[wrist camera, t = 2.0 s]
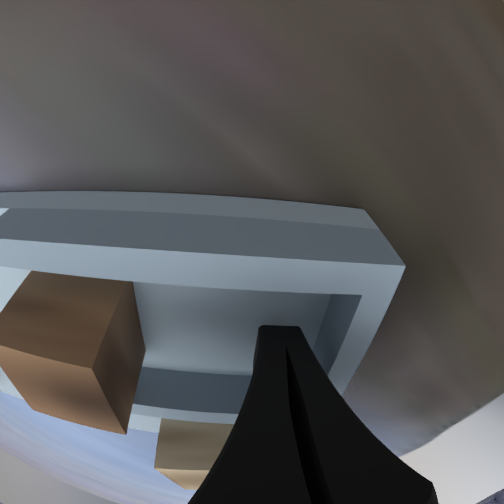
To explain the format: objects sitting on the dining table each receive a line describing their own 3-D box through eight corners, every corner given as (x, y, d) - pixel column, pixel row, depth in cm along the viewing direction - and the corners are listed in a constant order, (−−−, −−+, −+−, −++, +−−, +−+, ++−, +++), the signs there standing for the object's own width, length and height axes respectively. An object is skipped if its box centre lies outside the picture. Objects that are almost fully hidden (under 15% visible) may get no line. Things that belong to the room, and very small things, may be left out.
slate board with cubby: (289, 419, 18) (294, 465, 15) (-12, 369, 17) (-27, 401, 14) (363, 209, 10) (405, 266, 7) (-90, 199, 9) (-126, 228, 6)
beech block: (255, 426, 16) (258, 488, 12) (189, 430, 16) (184, 489, 13) (242, 393, 14) (243, 469, 10) (164, 397, 14) (154, 468, 11)
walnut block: (146, 350, 12) (126, 434, 9) (64, 337, 12) (32, 409, 8) (131, 272, 10) (91, 368, 6) (37, 263, 9) (-17, 339, 6)
